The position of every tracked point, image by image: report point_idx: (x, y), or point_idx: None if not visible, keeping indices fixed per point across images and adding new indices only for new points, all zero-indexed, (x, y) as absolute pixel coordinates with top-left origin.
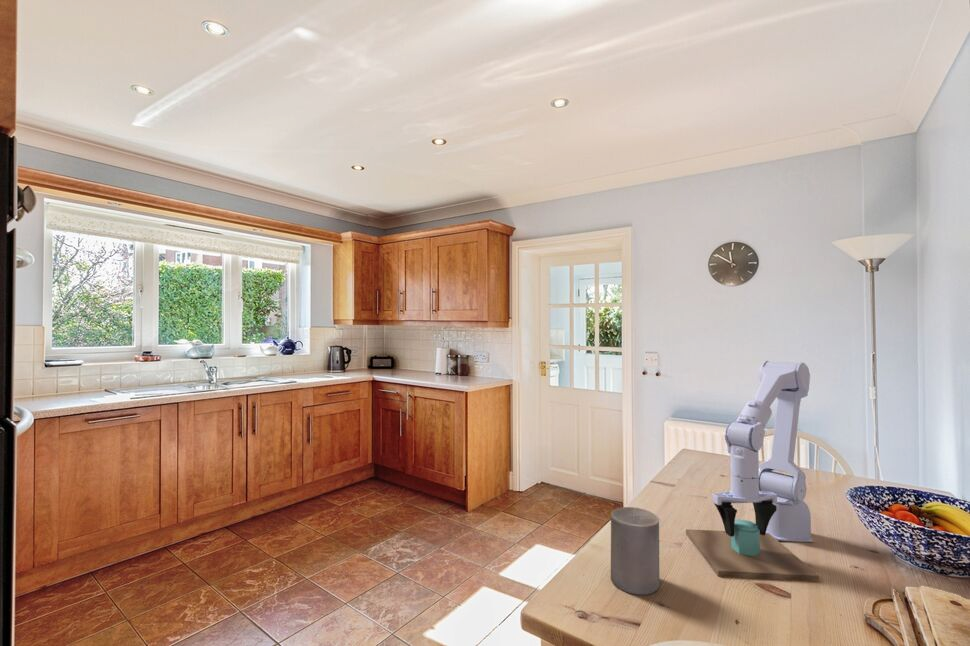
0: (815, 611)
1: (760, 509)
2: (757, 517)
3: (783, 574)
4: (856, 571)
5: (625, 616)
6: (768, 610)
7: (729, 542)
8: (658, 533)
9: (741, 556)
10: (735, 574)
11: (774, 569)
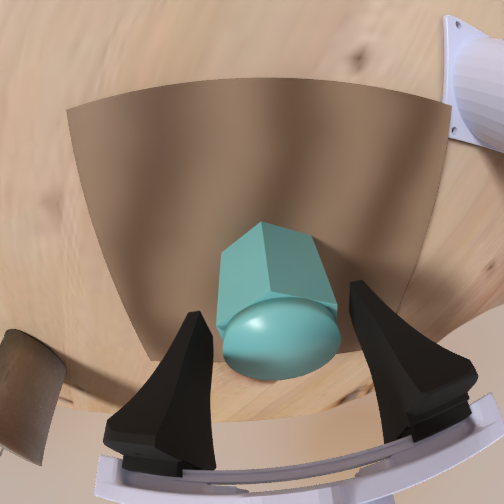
0: (291, 397)
1: (390, 401)
2: (377, 339)
3: None
4: (476, 284)
5: None
6: (218, 402)
7: (230, 210)
8: (43, 447)
9: None
10: None
11: None
